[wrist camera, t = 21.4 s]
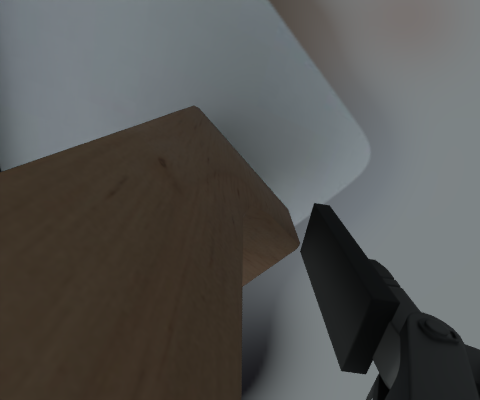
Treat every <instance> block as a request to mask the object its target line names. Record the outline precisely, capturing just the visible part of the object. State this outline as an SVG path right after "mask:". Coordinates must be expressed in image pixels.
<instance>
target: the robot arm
mask: <svg viewBox="0 0 480 400" xmlns="http://www.w3.org/2000/svg"><path fill="white" fill-rule="evenodd" d="M300 252H301V255H302V258H303V260H304V264H305V267H306V270H307V273H308V275H309V278H310V281H311V284H312V287H313V290H314V293H315V296H316V299H317V302H318V304H319V307H320V310H321V313H322V316H323V319H324V322H325V325H326V328H327V331H328V334H329V337H330V340H331V342H332V345H333V348H334V351H335V354H336V357H337V360H338V363H339V366H340V369H341V371H345V372H352V373H360V374H366V373H367V371H368V369H369V367H370V365H371V363H372V361H374V363H375V365H376V367H377V369H378V371H379V374H378V376H377V378H376V380H375V382H374V384H373V386H372V388H371V390H370V392H369V394H368V396H367V399H366V400H371V399H372V398H373V400H480V350H479V349H476V348H474V347H471V346H468V345H465V344H464V342H463V341H462V339H461V337H460V336H459V335H458V334H457V332H456V331H455V330H454V329H453V328H451V327H450V326H449V325H447V324H446V323H444V322H443V321H441V320H439V319H438V318H435V317H434V316H432V315H428V314H425V313H422V312H420V310H419V309H418V308H417V307H416V305H415V304H414V303H413V302H412V300H411V299H410V298H409V296H408V295H407V294H406V293H405V291H404V290H403V289H402V288H400V285H399V284H398V282H397V281H396V280H394V278H393V276H392V275H391V274H390V272H389V271H388V270H387V269H386V268H385V267H384V266H382V265H381V264H380V263H378V262H377V261H376V260H371V259H368V258H367V256H366V255H365V254H364V252H363V251H362V249H361V248H360V247H359V245H358V244H357V243H356V241H355V240H354V238H353V237H352V236H351V235H350V233H349V232H348V230H347V229H346V227H345V226H344V225H343V223H342V222H341V221H340V219H339V218H338V216H337V215H336V214H335V212H334V211H333V210H332V208H331V207H330V206H329V205H323V204H317V203H314V206H313V209H312V213H311V216H310V220H309V223H308V226H307V230H306V233H305V237H304V240H303V244H302V247H301V251H300Z"/></svg>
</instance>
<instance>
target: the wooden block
mask: <svg viewBox="0 0 480 400" xmlns="http://www.w3.org/2000/svg"><path fill="white" fill-rule="evenodd" d="M299 244H300V242H299V239H298V236H297V233H296V231H295V228H294V225H293V222H292V219H291V216H290V214H289V211H288V209H287V208H286V207H285V205H284V204H283V203H282V202H281V201H280V200H279V199H278V197H277V196H276V195H275V194H274V193H273V192H272V191H271V189H270V188H269V187H268V186H267V185H266V184H265V183H264V182H263V180H262V179H261V178H260V177H259V176H258V175H257V174H256V172H255V171H254V170H253V169H252V168H251V167H250V166H249V164H248V163H247V162H246V161H245V160H244V159H243V158H242V156H241V155H240V154H239V153H238V152H237V151H236V150H235V148H234V147H233V146H232V145H231V144H230V143H229V142H228V141H227V139H226V138H225V137H224V136H223V135H222V134H221V133H220V131H219V130H218V129H217V128H216V127H215V126H214V125H213V123H212V122H211V121H210V120H209V119H208V118H207V117H206V116H205V114H204V113H203V112H202V111H201V110H200V109H199V108H198V107H196V106H191V107H188V108H185V109H182V110H179V111H176V112H173V113H171V114H168V115H165V116H162V117H159V118H156V119H153V120H151V121H148V122H145V123H142V124H139V125H136V126H133V127H130V128H128V129H125V130H122V131H119V132H116V133H113V134H110V135H107V136H104V137H101V138H99V139H96V140H93V141H90V142H87V143H84V144H81V145H78V146H75V147H72V148H69V149H67V150H64V151H61V152H58V153H55V154H52V155H49V156H46V157H43V158H40V159H38V160H35V161H32V162H29V163H26V164H23V165H20V166H17V167H14V168H11V169H9V170H6V171H3V172H0V400H241V374H242V372H241V371H242V287H243V286H244V285H246V284H247V283H249V282H250V281H251V280H253V279H254V278H256V277H257V276H259V275H260V274H261V273H263V272H264V271H266V270H267V269H269V268H270V267H271V266H273V265H274V264H276V263H277V262H279V261H280V260H281V259H283V258H284V257H285V256H287V255H288V254H290V253H292V252H293V251H295V250H296V249H297V248H298V246H299Z"/></svg>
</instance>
